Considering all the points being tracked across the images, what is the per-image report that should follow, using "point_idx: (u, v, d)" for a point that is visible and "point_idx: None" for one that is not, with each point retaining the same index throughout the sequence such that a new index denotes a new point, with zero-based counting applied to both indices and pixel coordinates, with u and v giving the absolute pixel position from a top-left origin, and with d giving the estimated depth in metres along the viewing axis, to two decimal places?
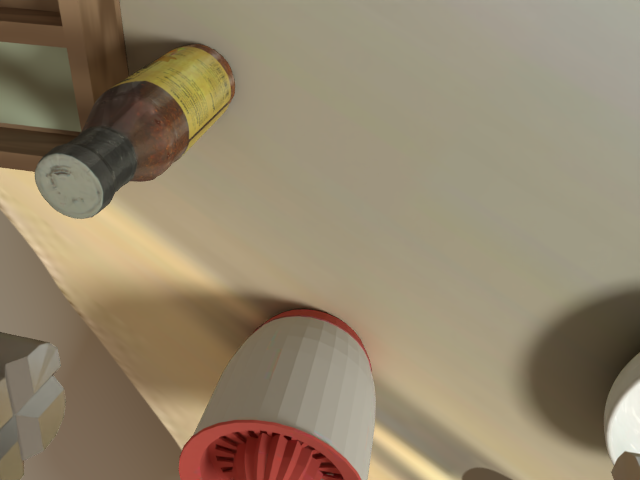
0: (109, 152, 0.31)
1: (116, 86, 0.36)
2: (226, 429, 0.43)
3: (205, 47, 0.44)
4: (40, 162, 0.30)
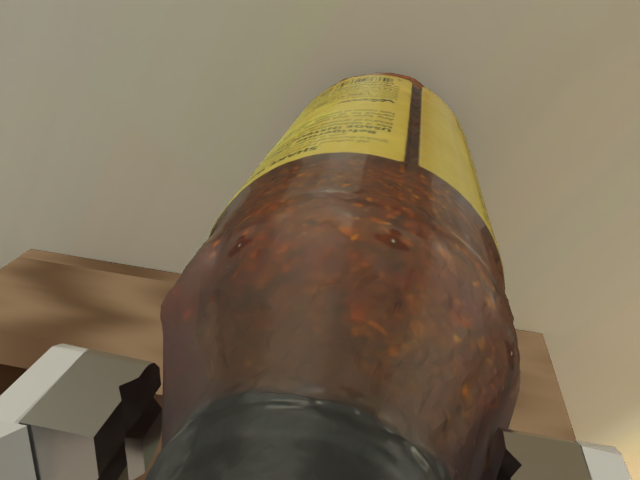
0: None
1: None
2: None
3: None
4: None
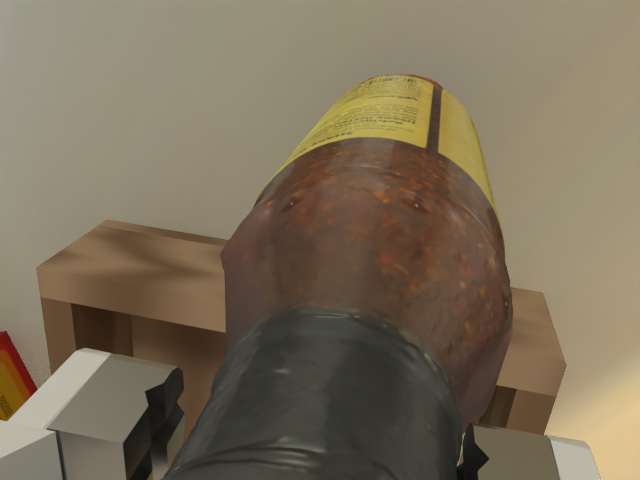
0: (224, 409, 0.07)
1: None
2: None
3: None
4: None
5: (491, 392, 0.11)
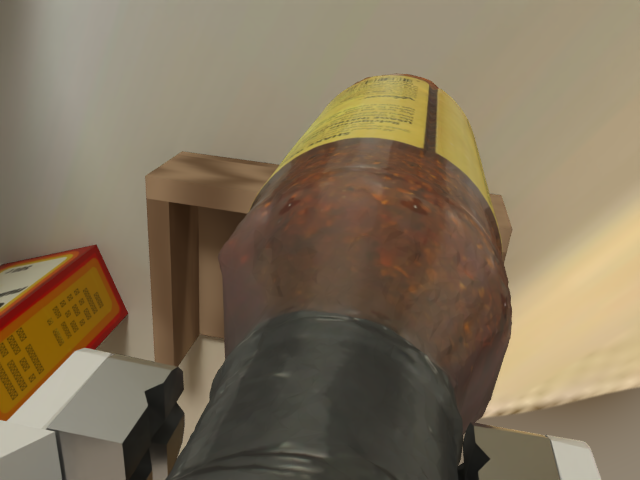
0: (225, 413, 0.07)
1: None
2: None
3: None
4: None
5: (490, 393, 0.11)
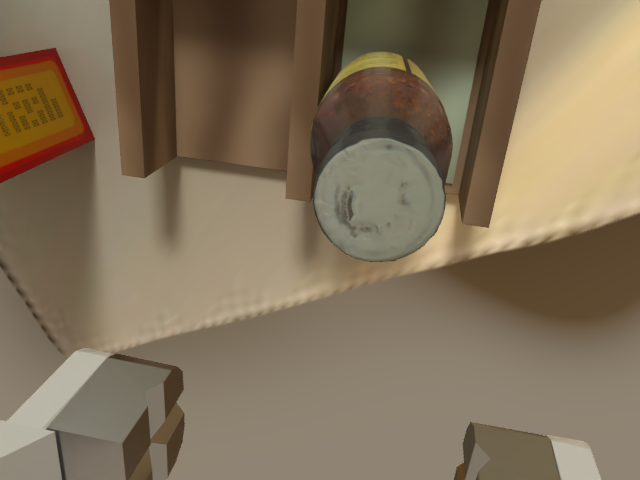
0: None
1: (312, 158, 0.25)
2: None
3: None
4: (330, 238, 0.18)
5: (445, 176, 0.23)
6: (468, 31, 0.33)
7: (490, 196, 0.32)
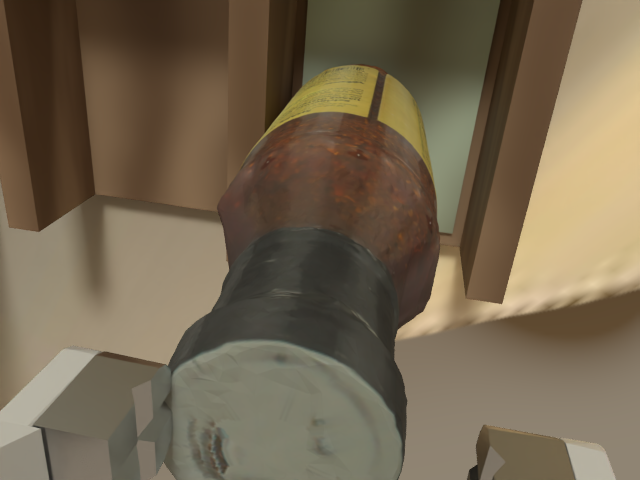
0: (235, 286, 0.10)
1: None
2: None
3: None
4: None
5: (427, 292, 0.14)
6: (474, 33, 0.24)
7: (505, 263, 0.23)
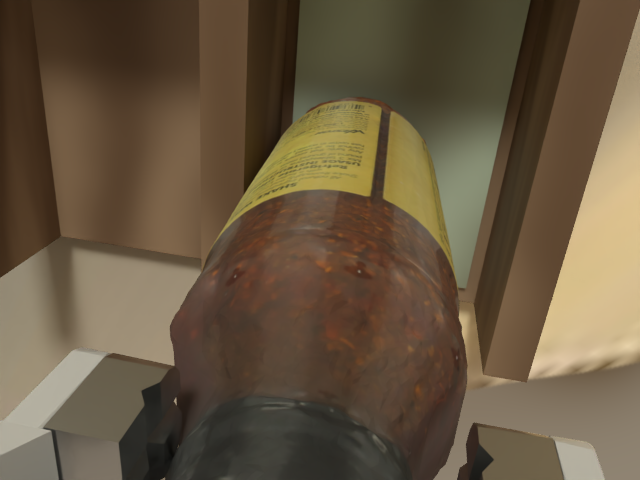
0: None
1: None
2: None
3: None
4: None
5: (451, 440, 0.11)
6: (493, 61, 0.20)
7: (531, 336, 0.19)
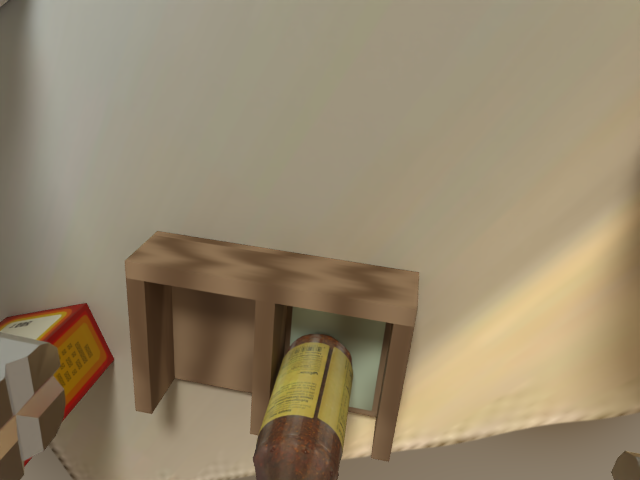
0: None
1: None
2: None
3: None
4: None
5: None
6: (376, 324, 0.47)
7: (388, 444, 0.46)
